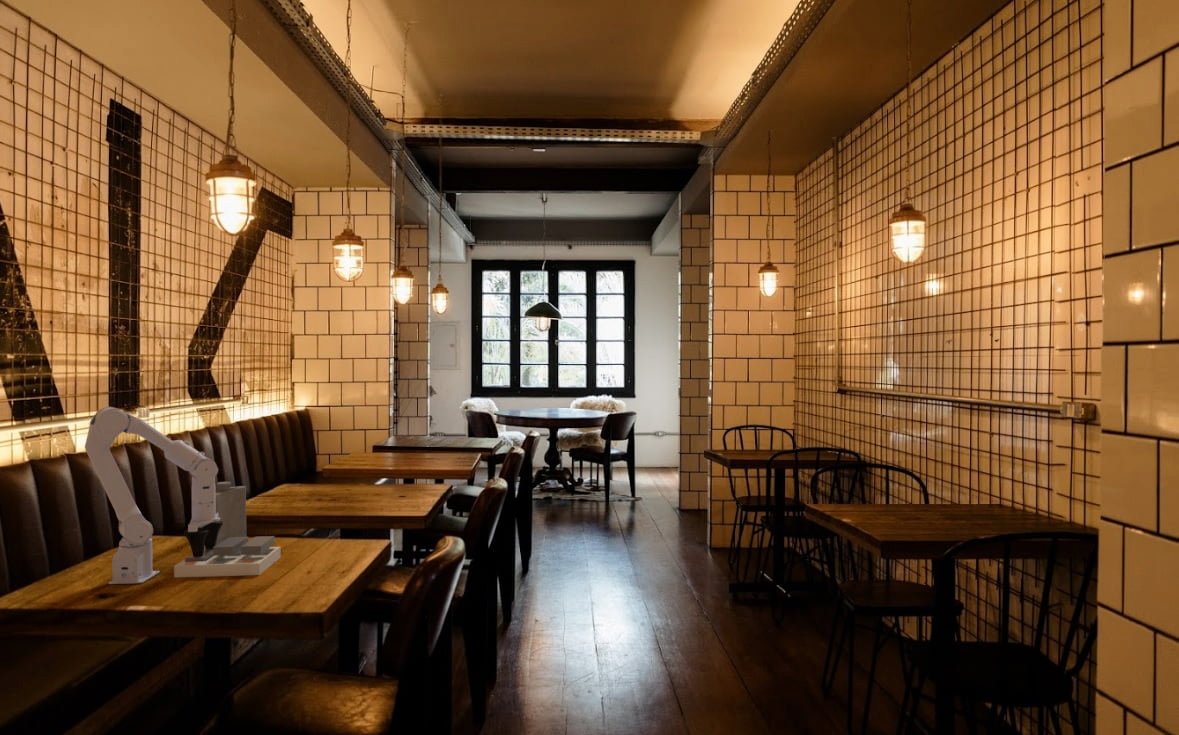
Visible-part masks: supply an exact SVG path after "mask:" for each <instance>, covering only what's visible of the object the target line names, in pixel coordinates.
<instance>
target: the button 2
mask: <svg viewBox="0 0 1179 735" xmlns="http://www.w3.org/2000/svg"><path fill="white" fill-rule="evenodd" d="M274 545H275V535H272V536H271V535H270V536H267V535H265V536H254V537H253V538H251V539H250V540H248V542H247V543H245V544H244V545H243V546H241V555H258V554H262V553H263V552H265V551H266V550H267V549H269V548H270V547H274Z"/></svg>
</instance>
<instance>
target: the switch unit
mask: <svg viewBox="0 0 1179 735" xmlns="http://www.w3.org/2000/svg"><path fill="white" fill-rule="evenodd" d="M281 548H282V547H281V546H271V547H270V548H269V549H267V550H266V551H265V552H263V553H262V554H258V555H241V550H240V551H238V552H237V553H235V554H234V555H220V556H213V557H212V558H210V559H209V560H207V561H189V562H185V559H183V560H181V561H180V562H178V563H176V564H175V565H174V566H173V568H174V569H173V570H174V571H173V576H174V578H199V577H200V578H201V577H202V578H203V577H229V576H230V577H231V576H233V577H235V576H236V577H237V576H239V577H240V576H260V575H261V574H263V573H264V572H265V571H266V570H267V569H268V567H269V568H270V567H271V566H272V565H273V564H274V562H275V563H276V562H277V561H279V559H281V558H280V557H282V556H281V553H282V552H281V550H282V549H281Z"/></svg>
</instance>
